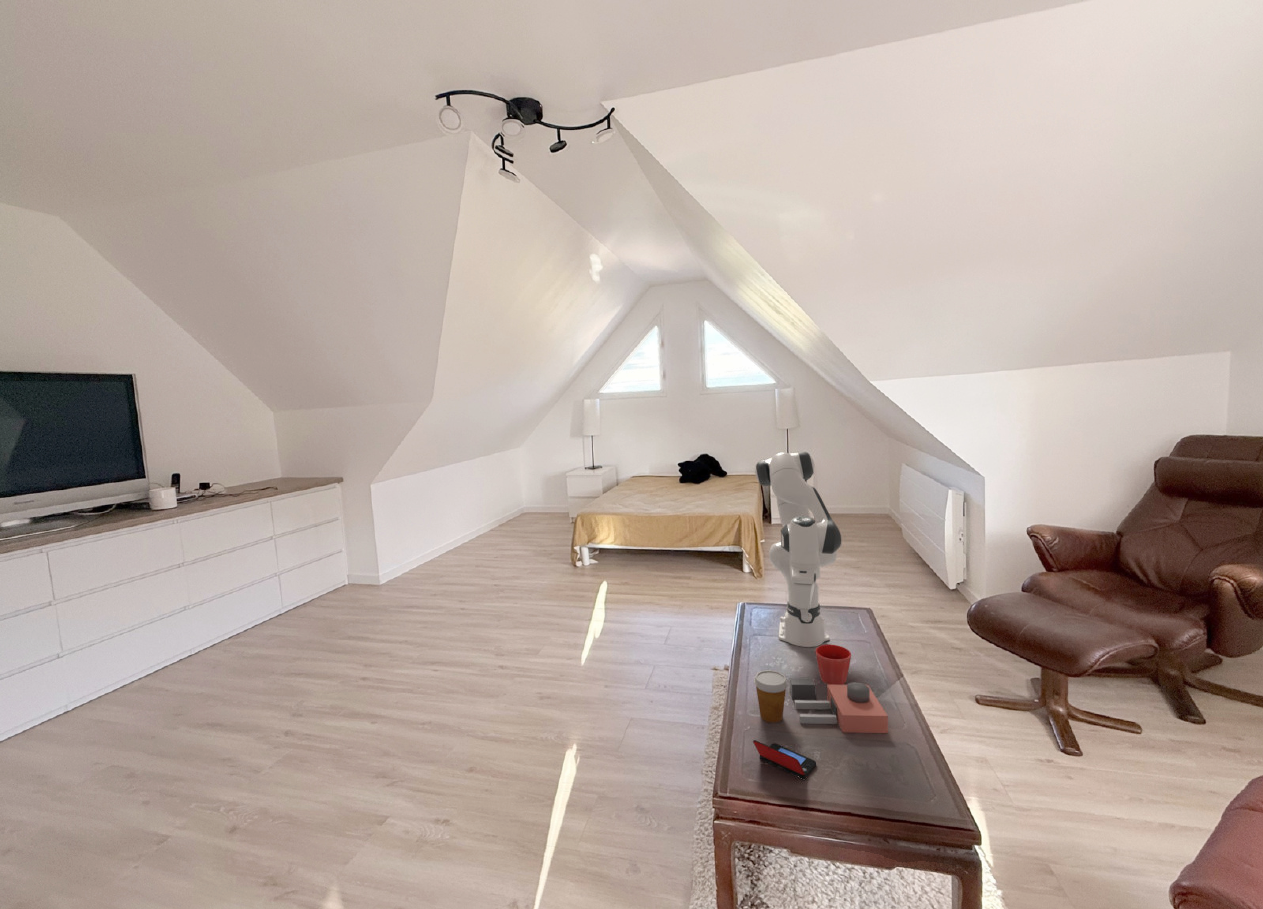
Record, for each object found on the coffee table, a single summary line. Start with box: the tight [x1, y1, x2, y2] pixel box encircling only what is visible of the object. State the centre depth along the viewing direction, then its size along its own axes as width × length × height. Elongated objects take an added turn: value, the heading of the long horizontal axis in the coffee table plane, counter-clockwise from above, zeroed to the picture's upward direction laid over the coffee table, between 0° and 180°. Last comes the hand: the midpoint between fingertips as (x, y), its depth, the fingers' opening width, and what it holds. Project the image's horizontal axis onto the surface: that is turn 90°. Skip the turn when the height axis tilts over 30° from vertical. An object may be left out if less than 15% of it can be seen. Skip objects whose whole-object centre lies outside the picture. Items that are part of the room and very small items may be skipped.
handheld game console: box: [752, 739, 817, 780], centre depth 135 cm, size 12×11×7 cm
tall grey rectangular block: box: [789, 677, 817, 701], centre depth 166 cm, size 4×7×5 cm, turn 84°
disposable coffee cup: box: [753, 669, 789, 724], centre depth 156 cm, size 10×10×12 cm
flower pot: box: [815, 643, 852, 685], centre depth 174 cm, size 11×11×10 cm
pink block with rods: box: [794, 681, 889, 734], centre depth 155 cm, size 16×22×8 cm
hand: (806, 614), depth 165 cm, fingers open, 8 cm apart
